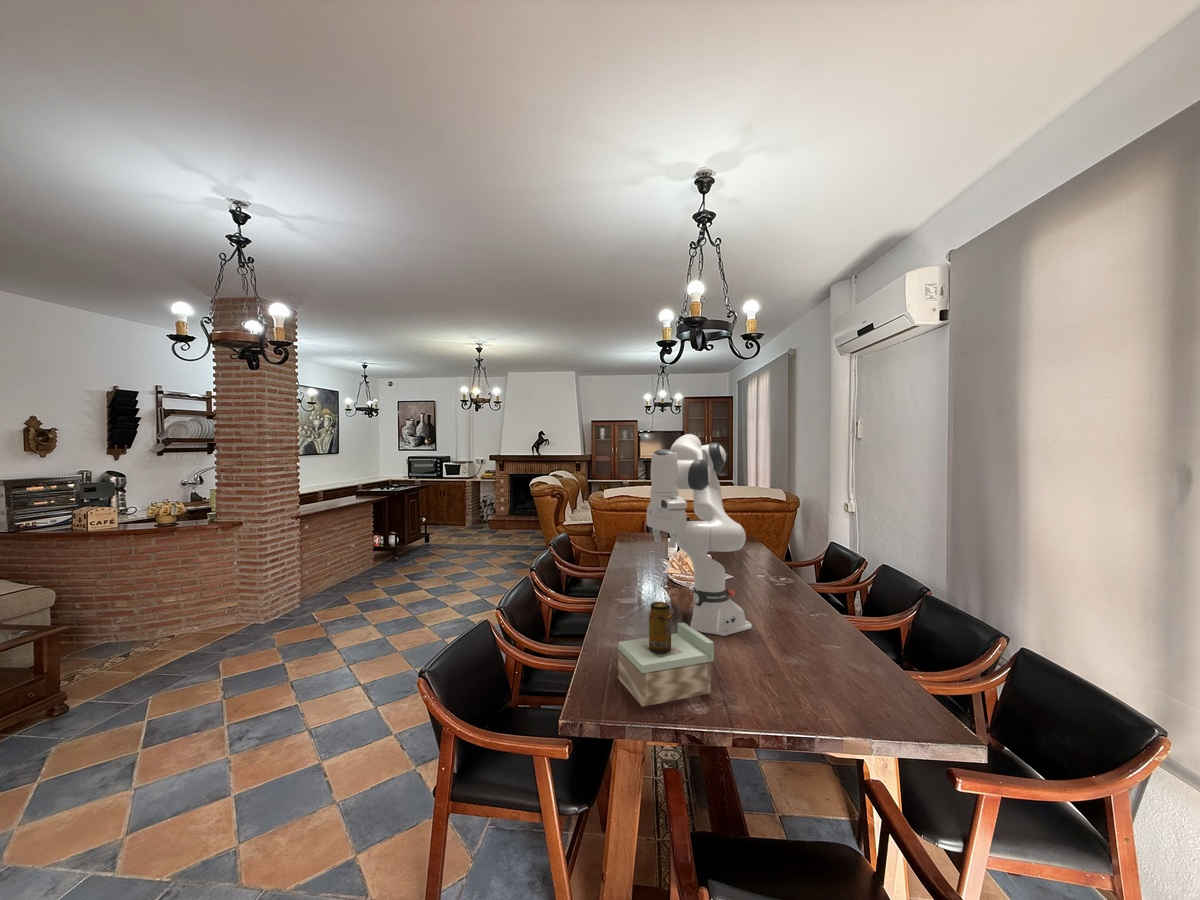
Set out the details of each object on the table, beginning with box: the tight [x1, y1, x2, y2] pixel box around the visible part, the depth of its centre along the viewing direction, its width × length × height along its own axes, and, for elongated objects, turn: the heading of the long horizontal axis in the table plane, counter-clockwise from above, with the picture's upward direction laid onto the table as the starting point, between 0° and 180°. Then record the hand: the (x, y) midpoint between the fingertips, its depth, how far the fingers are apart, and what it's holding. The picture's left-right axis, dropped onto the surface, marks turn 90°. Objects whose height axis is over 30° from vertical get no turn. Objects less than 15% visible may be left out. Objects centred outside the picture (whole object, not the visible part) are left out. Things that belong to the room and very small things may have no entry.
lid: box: [617, 622, 715, 673], centre depth 128 cm, size 21×16×5 cm
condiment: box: [642, 601, 682, 656], centre depth 127 cm, size 7×8×12 cm
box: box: [617, 649, 712, 707], centre depth 128 cm, size 20×16×8 cm
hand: (664, 544), depth 147 cm, fingers open, 8 cm apart
